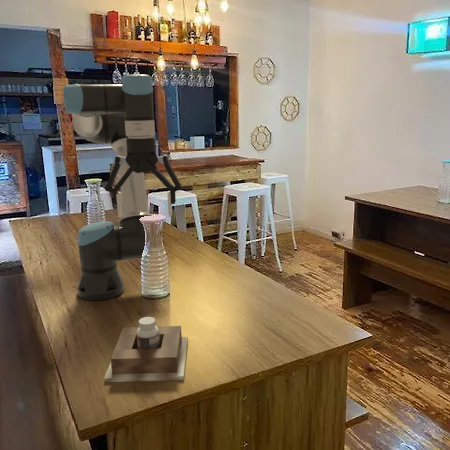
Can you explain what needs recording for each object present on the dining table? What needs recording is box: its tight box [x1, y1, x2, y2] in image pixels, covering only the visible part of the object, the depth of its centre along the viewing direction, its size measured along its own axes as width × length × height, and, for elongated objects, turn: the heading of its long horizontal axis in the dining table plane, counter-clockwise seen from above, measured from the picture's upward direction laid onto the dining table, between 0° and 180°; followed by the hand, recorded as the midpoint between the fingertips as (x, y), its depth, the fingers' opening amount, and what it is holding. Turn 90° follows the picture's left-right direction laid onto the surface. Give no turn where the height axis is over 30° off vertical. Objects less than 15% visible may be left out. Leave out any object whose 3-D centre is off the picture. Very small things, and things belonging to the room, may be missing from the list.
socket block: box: [103, 325, 189, 383], centre depth 111 cm, size 18×18×5 cm
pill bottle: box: [137, 316, 160, 349], centre depth 110 cm, size 5×5×10 cm
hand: (145, 216), depth 123 cm, fingers open, 13 cm apart
